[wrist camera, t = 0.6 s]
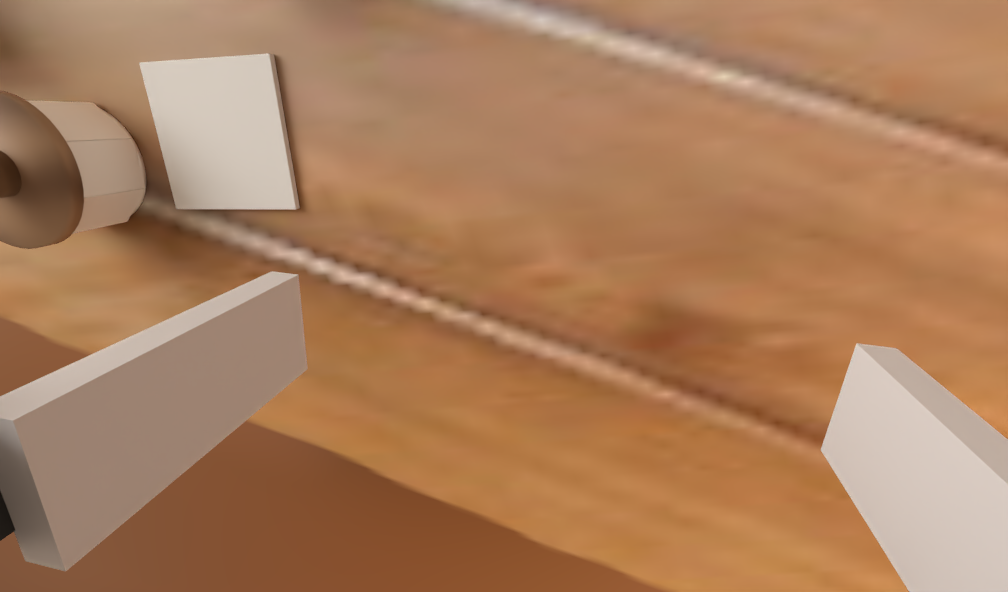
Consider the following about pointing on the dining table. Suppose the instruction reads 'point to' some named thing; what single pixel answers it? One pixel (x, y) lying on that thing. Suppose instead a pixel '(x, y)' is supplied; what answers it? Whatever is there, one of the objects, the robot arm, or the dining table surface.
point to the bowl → (100, 161)
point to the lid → (35, 178)
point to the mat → (222, 132)
